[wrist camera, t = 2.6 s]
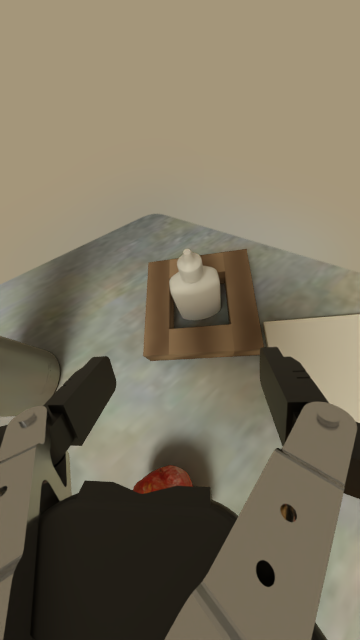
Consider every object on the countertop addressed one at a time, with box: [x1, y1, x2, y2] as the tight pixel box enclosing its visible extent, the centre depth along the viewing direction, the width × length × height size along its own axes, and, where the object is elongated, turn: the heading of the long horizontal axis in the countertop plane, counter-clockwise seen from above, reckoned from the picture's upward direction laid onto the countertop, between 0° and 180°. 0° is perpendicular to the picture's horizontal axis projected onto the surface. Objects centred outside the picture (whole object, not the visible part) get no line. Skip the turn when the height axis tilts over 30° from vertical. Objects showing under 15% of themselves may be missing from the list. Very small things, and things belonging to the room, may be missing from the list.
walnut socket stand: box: [143, 249, 264, 361], centre depth 28 cm, size 14×14×3 cm
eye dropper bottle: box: [169, 249, 221, 320], centre depth 24 cm, size 4×6×12 cm
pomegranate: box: [133, 465, 193, 494], centre depth 18 cm, size 7×7×10 cm
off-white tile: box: [263, 314, 360, 423], centre depth 23 cm, size 14×12×1 cm
